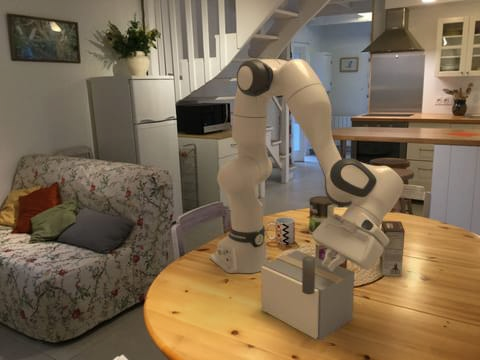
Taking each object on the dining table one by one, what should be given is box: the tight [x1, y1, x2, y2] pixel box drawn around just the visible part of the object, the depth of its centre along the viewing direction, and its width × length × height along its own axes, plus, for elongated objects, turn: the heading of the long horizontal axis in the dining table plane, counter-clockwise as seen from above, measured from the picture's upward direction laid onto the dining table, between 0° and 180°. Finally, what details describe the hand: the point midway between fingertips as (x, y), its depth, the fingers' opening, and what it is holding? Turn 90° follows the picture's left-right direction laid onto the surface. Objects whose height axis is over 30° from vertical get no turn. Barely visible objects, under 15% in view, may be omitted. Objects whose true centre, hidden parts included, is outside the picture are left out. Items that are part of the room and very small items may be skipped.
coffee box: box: [379, 220, 406, 277], centre depth 140 cm, size 9×6×16 cm
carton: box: [263, 250, 355, 342], centre depth 116 cm, size 20×14×14 cm
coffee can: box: [308, 195, 335, 235], centre depth 177 cm, size 10×10×14 cm
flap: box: [260, 256, 319, 340], centre depth 109 cm, size 19×3×21 cm, turn 42°
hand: (326, 268), depth 104 cm, fingers closed
